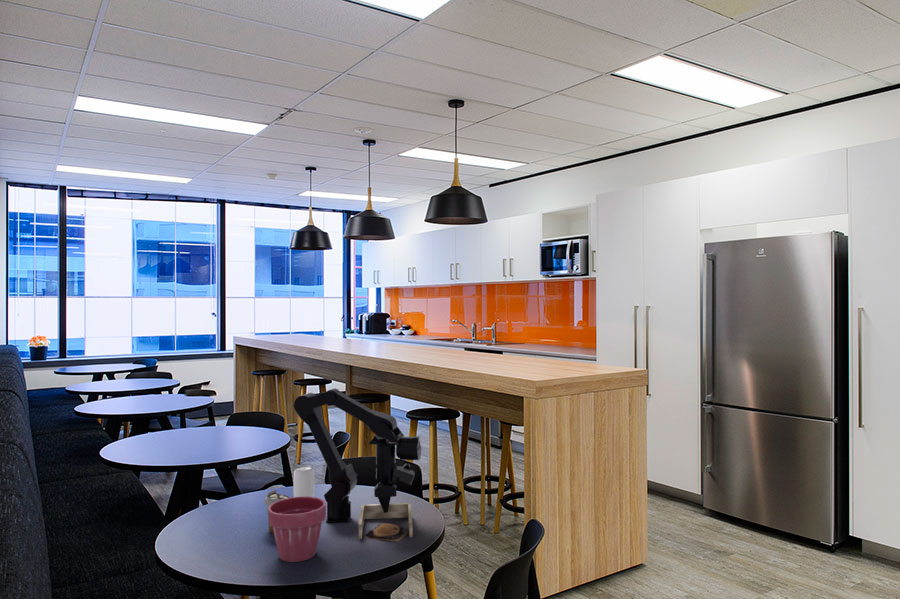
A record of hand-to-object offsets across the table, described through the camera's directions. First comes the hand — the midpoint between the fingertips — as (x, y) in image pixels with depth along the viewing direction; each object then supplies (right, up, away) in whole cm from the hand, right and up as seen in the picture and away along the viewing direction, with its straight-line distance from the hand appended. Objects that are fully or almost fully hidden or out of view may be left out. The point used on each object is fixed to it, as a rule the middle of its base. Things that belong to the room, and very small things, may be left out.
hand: (385, 512), depth 180 cm
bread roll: (+1, -3, -11) cm, 11 cm away
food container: (-30, -3, -8) cm, 31 cm away
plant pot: (-20, -3, -25) cm, 32 cm away
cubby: (+1, -3, -5) cm, 6 cm away
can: (-28, -3, +15) cm, 32 cm away
